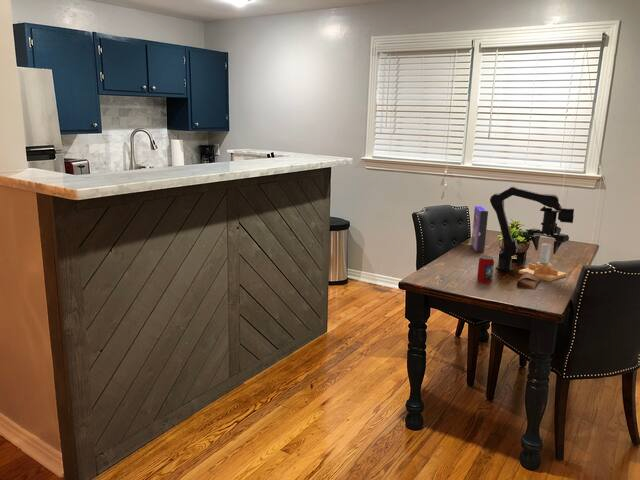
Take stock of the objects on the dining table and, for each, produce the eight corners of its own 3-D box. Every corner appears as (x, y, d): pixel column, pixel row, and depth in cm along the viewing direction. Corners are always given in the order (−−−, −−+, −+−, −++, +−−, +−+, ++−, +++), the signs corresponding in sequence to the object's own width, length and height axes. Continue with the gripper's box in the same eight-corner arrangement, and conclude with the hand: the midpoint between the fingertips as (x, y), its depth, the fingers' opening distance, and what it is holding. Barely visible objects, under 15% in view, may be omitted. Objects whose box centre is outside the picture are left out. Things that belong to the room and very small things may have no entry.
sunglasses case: (536, 290, 230) (529, 276, 230) (521, 295, 233) (514, 281, 234) (541, 280, 245) (535, 267, 245) (527, 285, 249) (521, 272, 249)
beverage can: (489, 285, 235) (492, 260, 232) (475, 282, 238) (477, 257, 236) (493, 281, 241) (496, 256, 238) (479, 279, 244) (481, 254, 241)
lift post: (545, 265, 251) (547, 245, 249) (538, 263, 254) (541, 244, 251) (548, 264, 253) (551, 244, 251) (542, 262, 256) (545, 243, 253)
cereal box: (471, 244, 315) (474, 205, 309) (479, 245, 314) (483, 206, 309) (475, 251, 298) (479, 210, 292) (484, 252, 297) (488, 211, 292)
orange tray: (549, 281, 244) (550, 269, 242) (518, 273, 256) (520, 261, 255) (566, 276, 253) (568, 264, 252) (536, 268, 266) (537, 257, 264)
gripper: (576, 222, 246) (572, 254, 250) (540, 216, 261) (536, 246, 264) (564, 224, 240) (560, 257, 243) (528, 218, 254) (524, 248, 257)
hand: (545, 252), depth 252 cm, fingers open, 9 cm apart
